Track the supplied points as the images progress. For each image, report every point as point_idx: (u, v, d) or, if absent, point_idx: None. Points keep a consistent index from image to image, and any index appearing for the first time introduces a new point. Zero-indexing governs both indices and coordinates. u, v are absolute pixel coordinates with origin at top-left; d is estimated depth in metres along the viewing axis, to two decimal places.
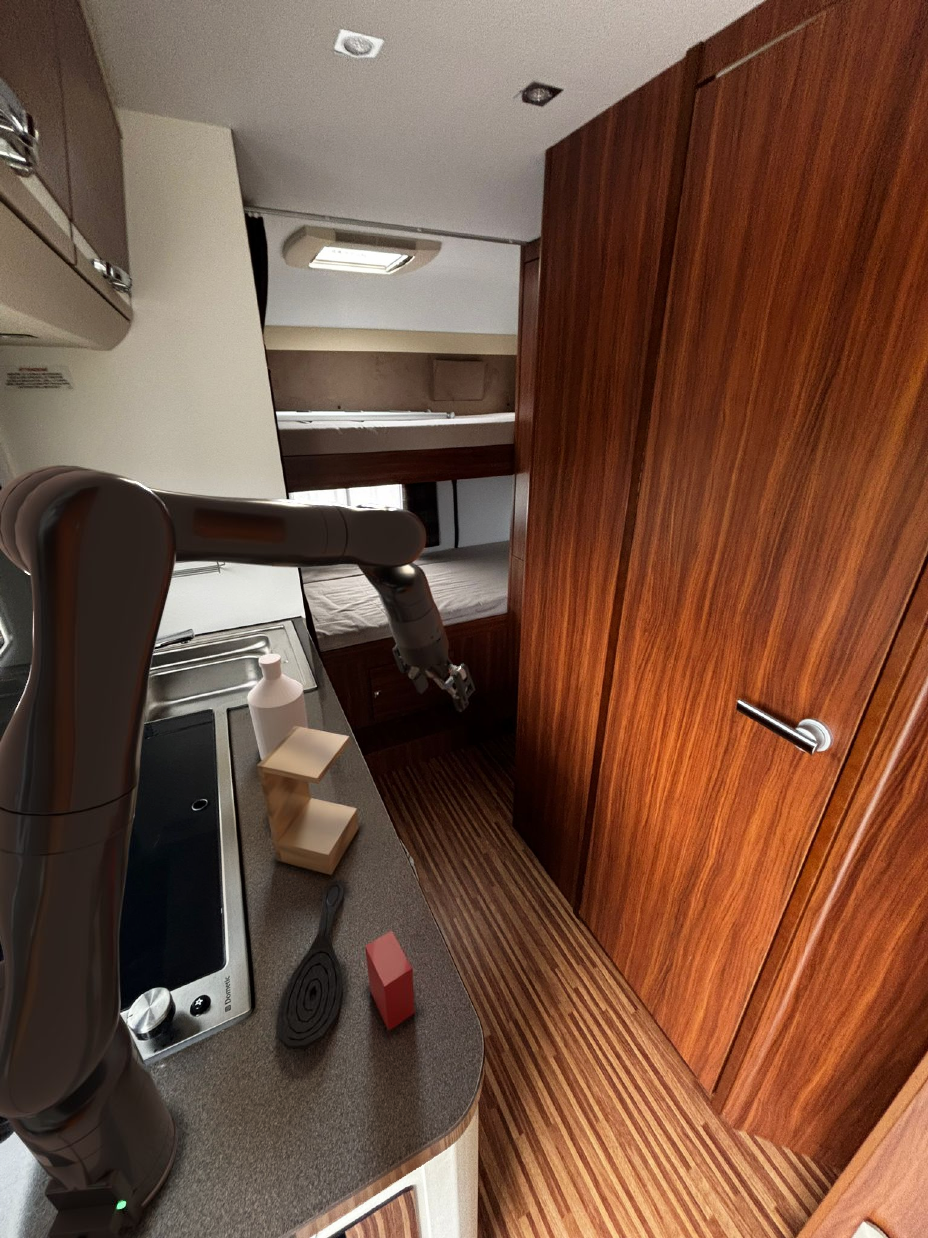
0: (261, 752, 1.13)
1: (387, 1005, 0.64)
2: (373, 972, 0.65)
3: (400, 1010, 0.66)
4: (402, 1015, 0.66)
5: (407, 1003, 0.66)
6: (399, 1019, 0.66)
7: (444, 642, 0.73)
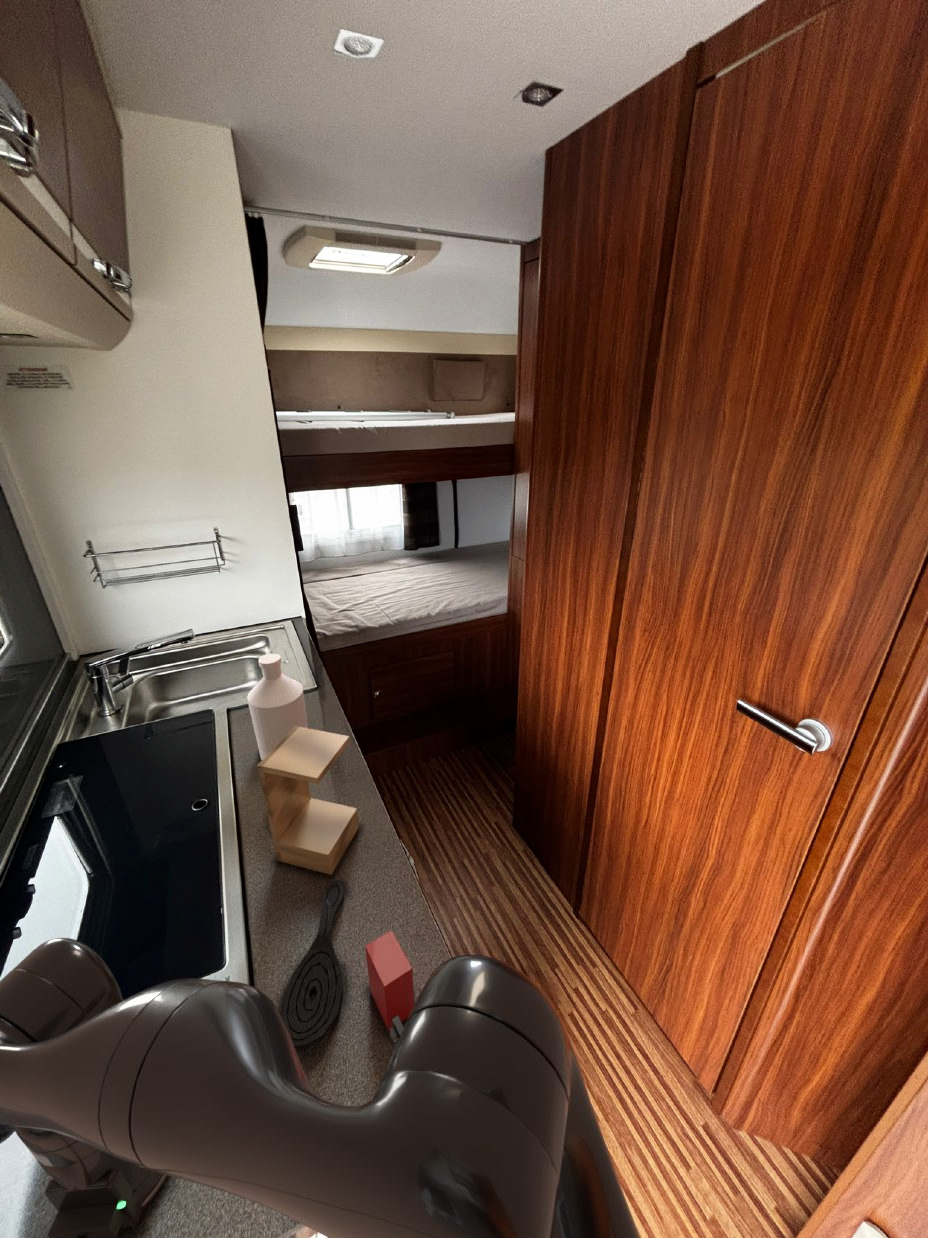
0: (261, 752, 1.13)
1: (387, 1005, 0.64)
2: (373, 972, 0.65)
3: (400, 1010, 0.66)
4: (402, 1015, 0.66)
5: (407, 1003, 0.66)
6: None
7: None
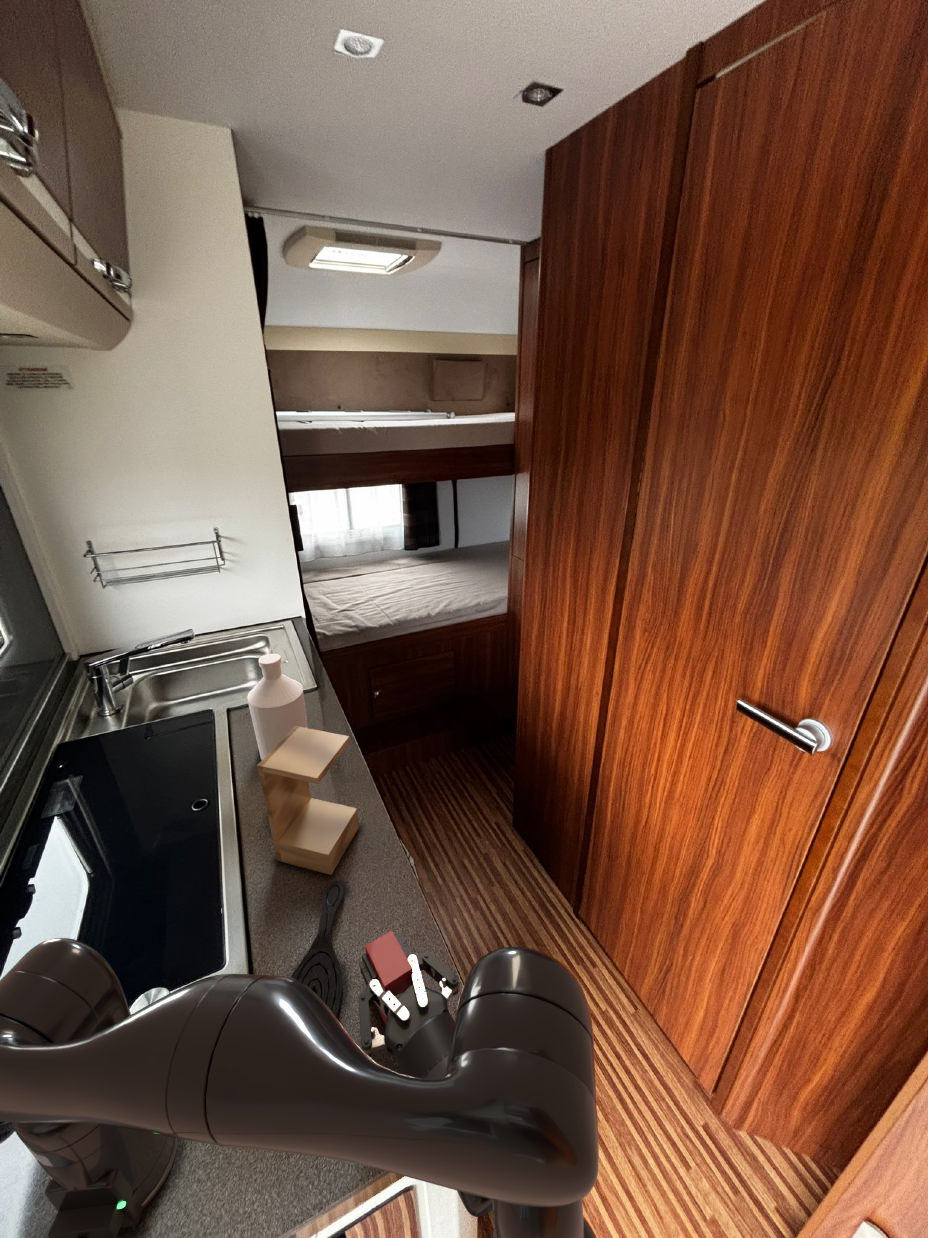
0: (261, 752, 1.13)
1: None
2: None
3: None
4: None
5: None
6: None
7: None
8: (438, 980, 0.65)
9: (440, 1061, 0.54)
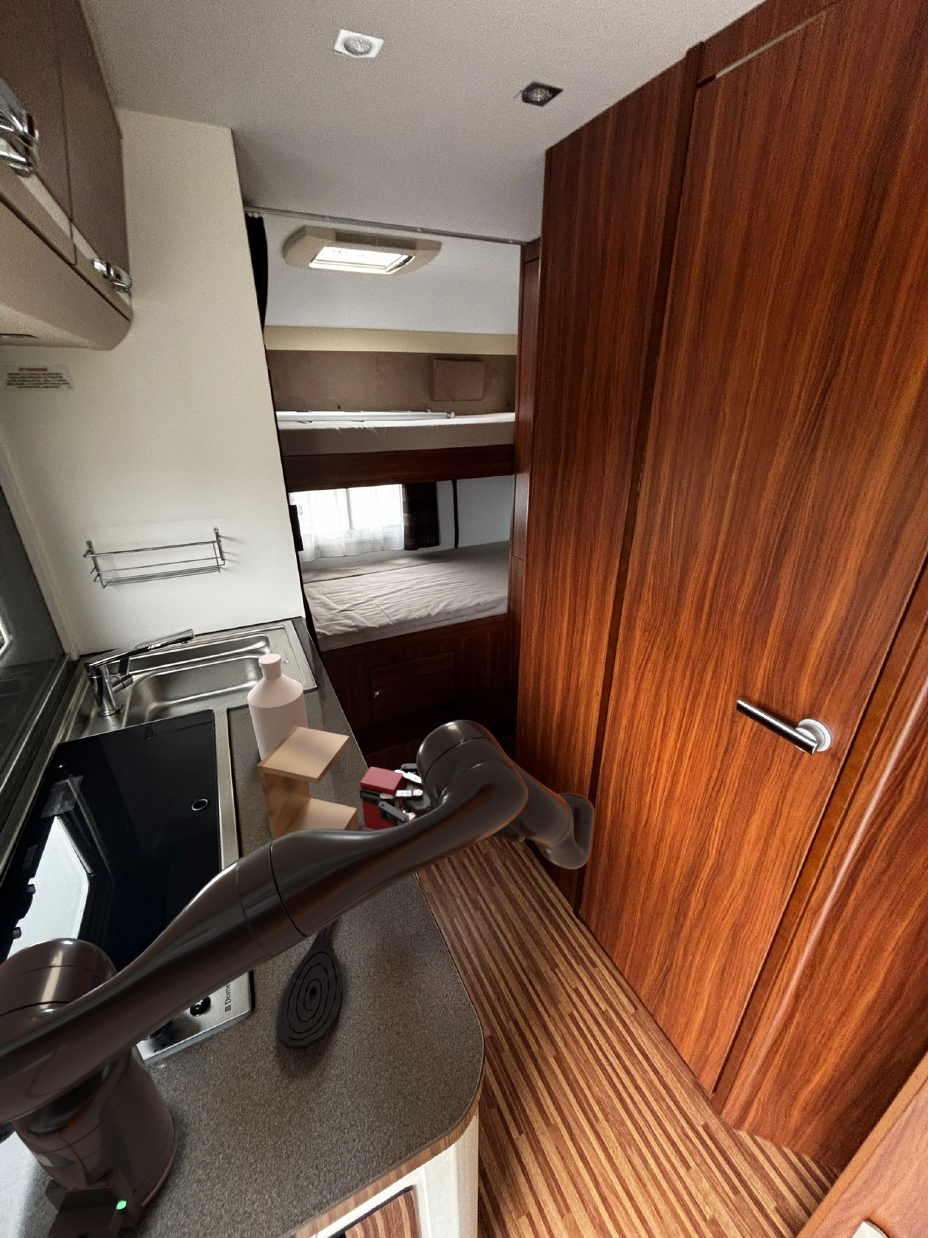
0: (261, 752, 1.13)
1: None
2: None
3: None
4: None
5: None
6: None
7: None
8: None
9: None
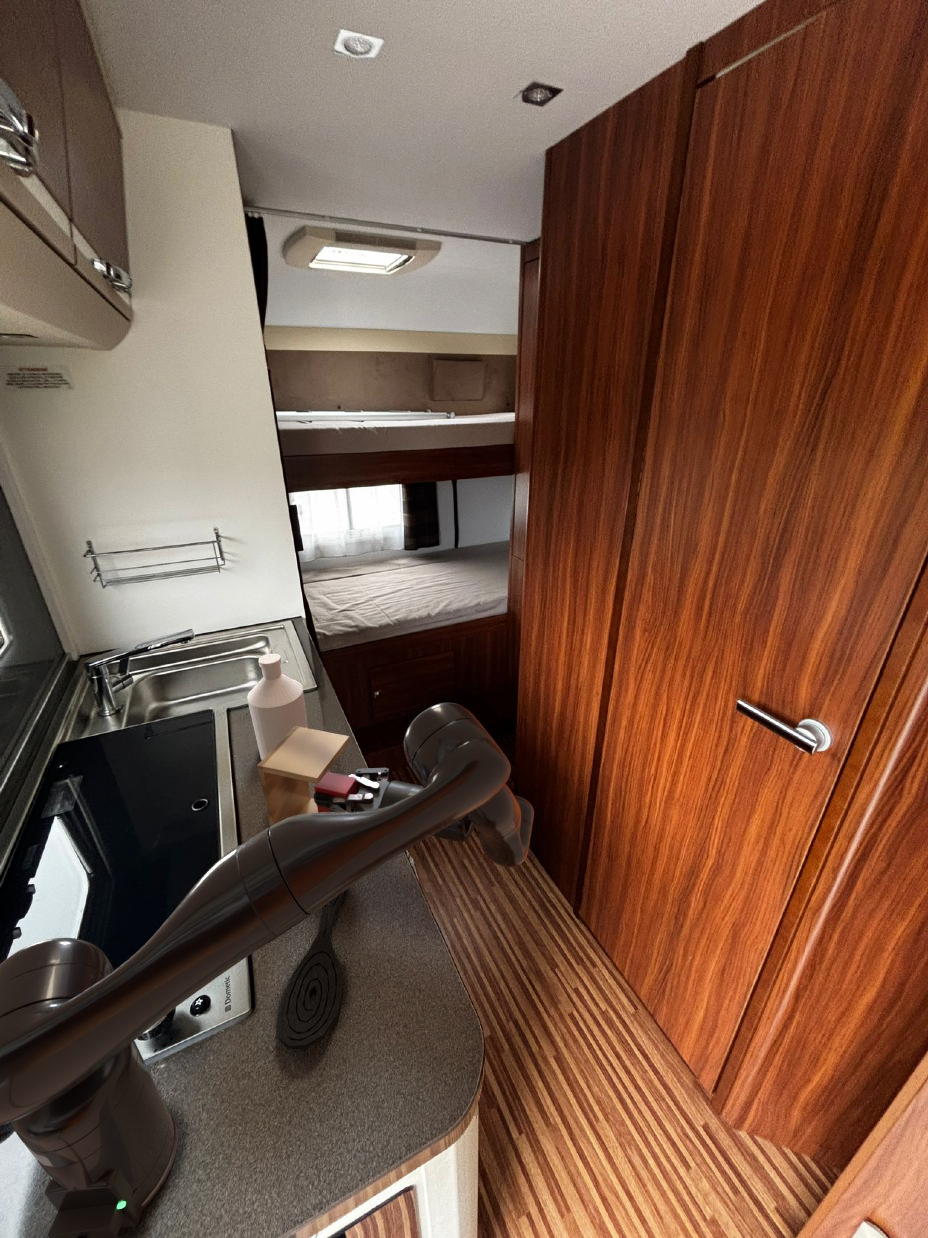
0: (261, 752, 1.13)
1: None
2: None
3: None
4: None
5: None
6: None
7: None
8: (373, 780, 0.89)
9: (409, 792, 0.81)
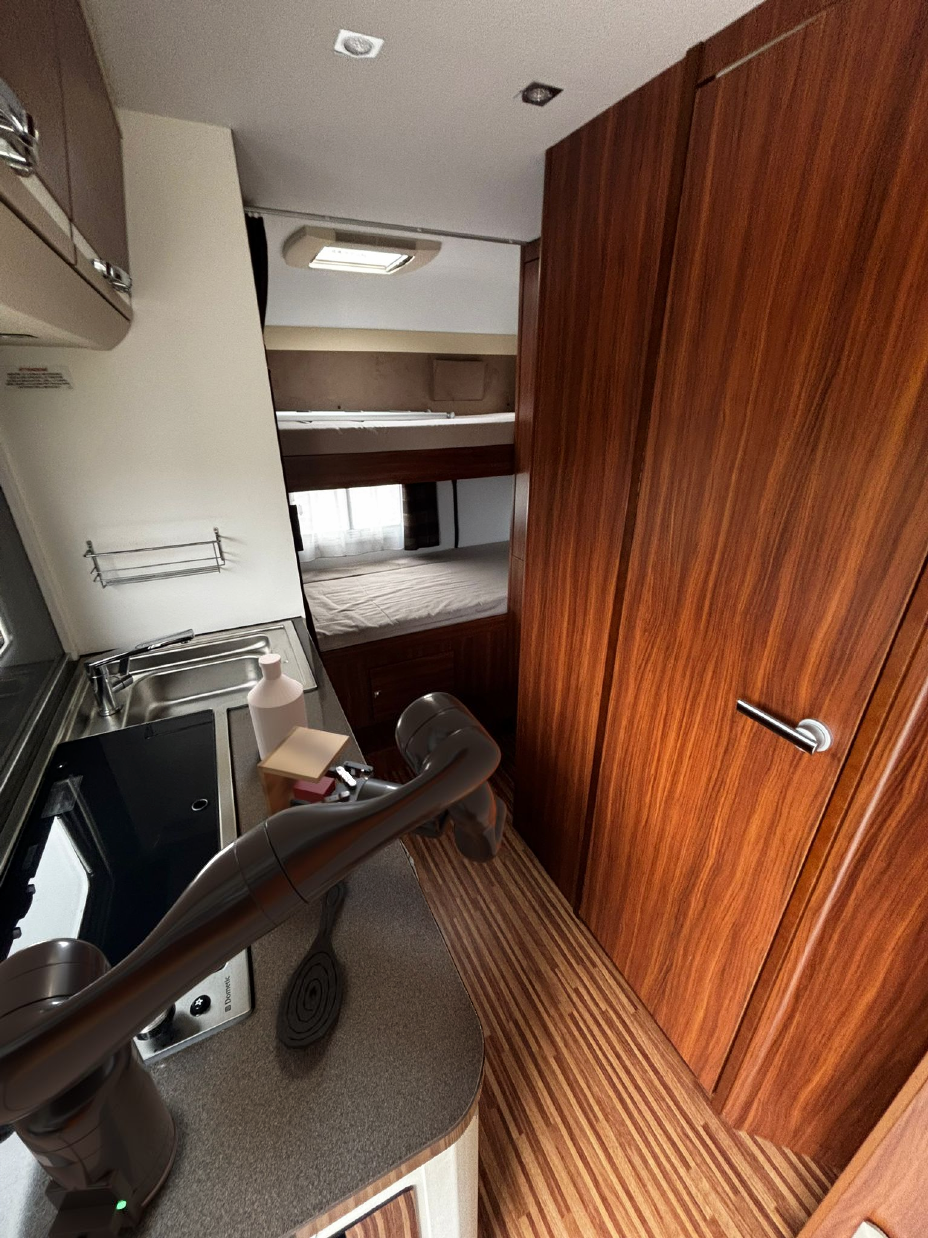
0: (261, 752, 1.13)
1: None
2: (306, 800, 0.86)
3: None
4: None
5: None
6: None
7: None
8: (358, 775, 0.91)
9: (385, 790, 0.82)
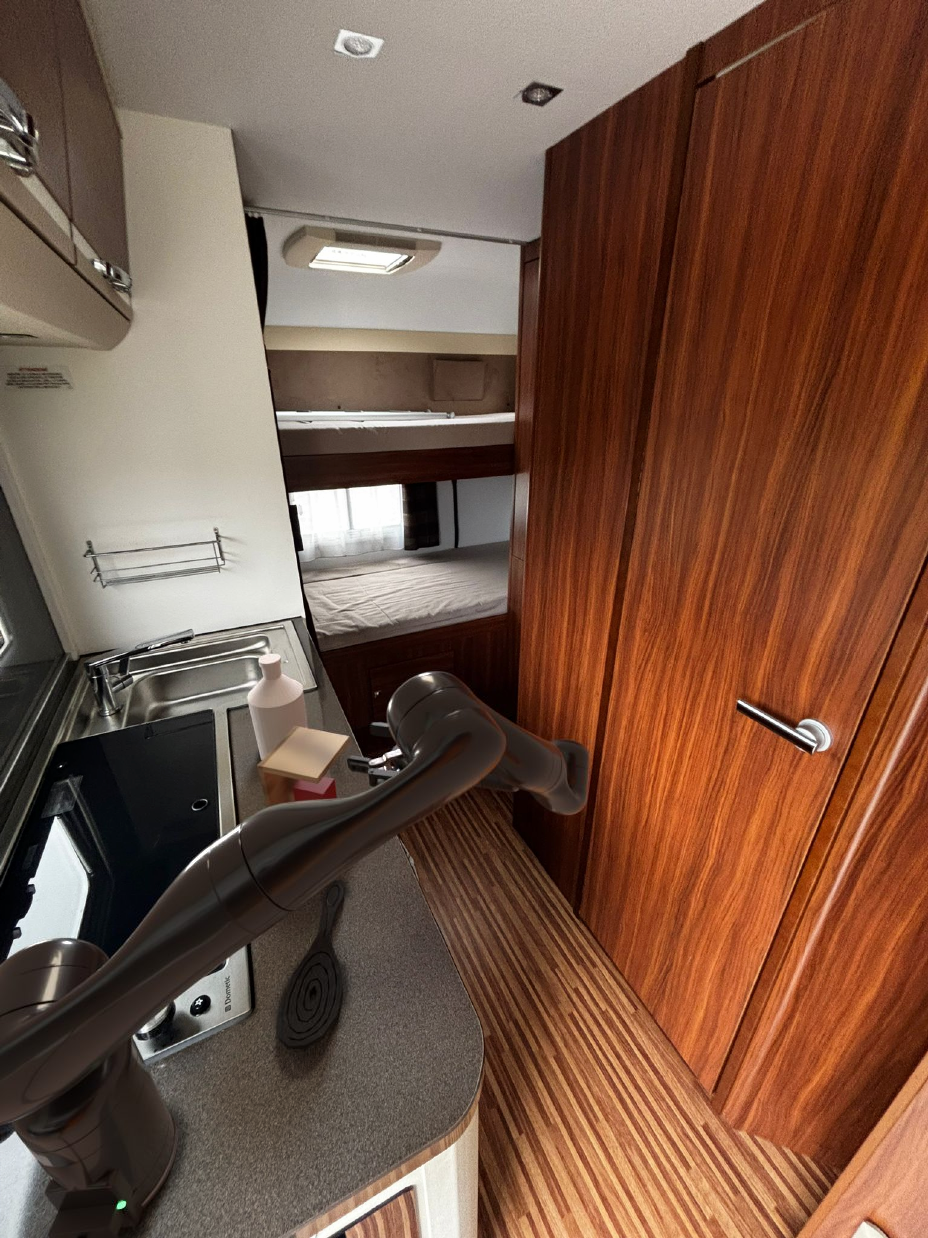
0: (261, 752, 1.13)
1: None
2: (306, 800, 0.86)
3: None
4: None
5: None
6: None
7: None
8: None
9: None
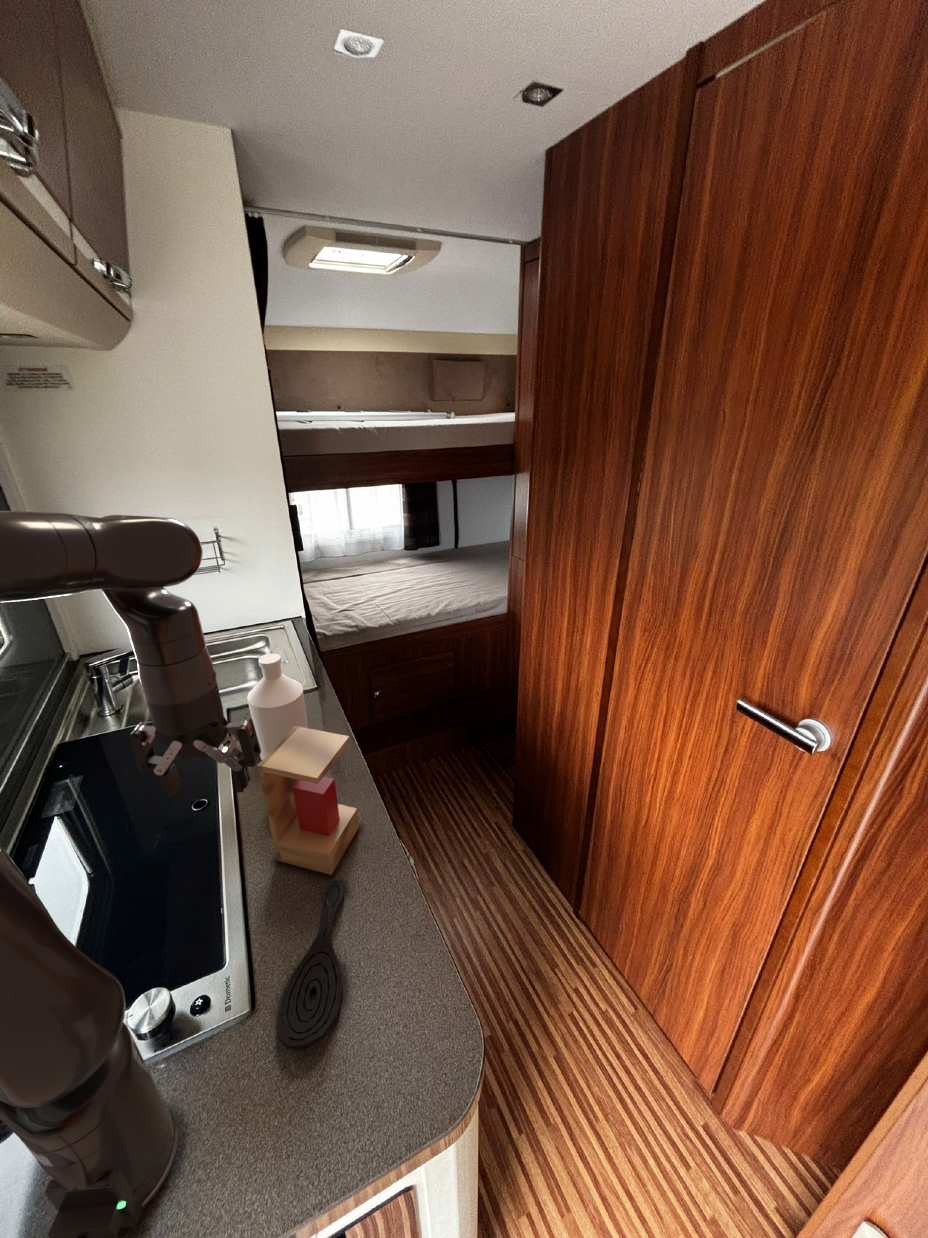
0: (261, 752, 1.13)
1: (326, 811, 0.86)
2: (306, 800, 0.86)
3: (333, 817, 0.89)
4: (334, 821, 0.90)
5: (335, 810, 0.90)
6: (333, 825, 0.90)
7: (219, 695, 0.60)
8: (150, 742, 0.62)
9: (170, 704, 0.55)
